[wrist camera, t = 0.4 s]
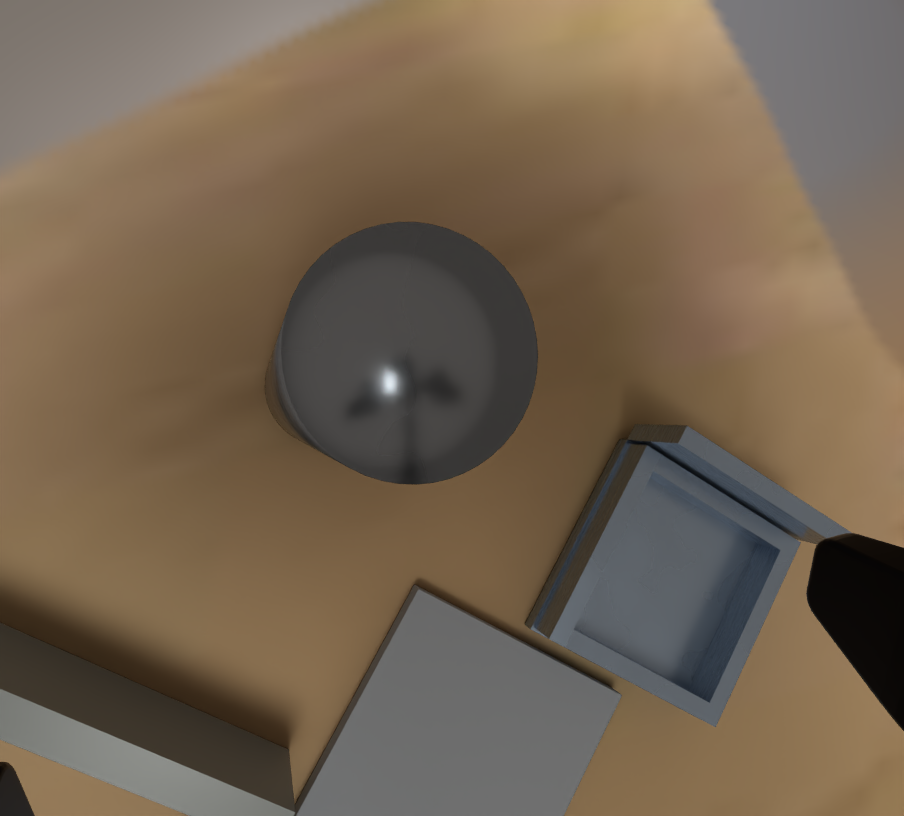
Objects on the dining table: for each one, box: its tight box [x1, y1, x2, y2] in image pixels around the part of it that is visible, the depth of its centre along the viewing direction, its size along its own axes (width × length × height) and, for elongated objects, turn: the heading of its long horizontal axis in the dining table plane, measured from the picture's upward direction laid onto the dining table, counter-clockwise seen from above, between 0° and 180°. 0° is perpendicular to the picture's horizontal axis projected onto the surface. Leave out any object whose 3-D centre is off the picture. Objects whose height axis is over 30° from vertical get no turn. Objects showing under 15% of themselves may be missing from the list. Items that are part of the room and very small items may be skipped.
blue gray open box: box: [525, 424, 851, 727], centre depth 23 cm, size 8×7×4 cm
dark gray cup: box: [265, 222, 538, 484], centre depth 16 cm, size 4×4×12 cm
